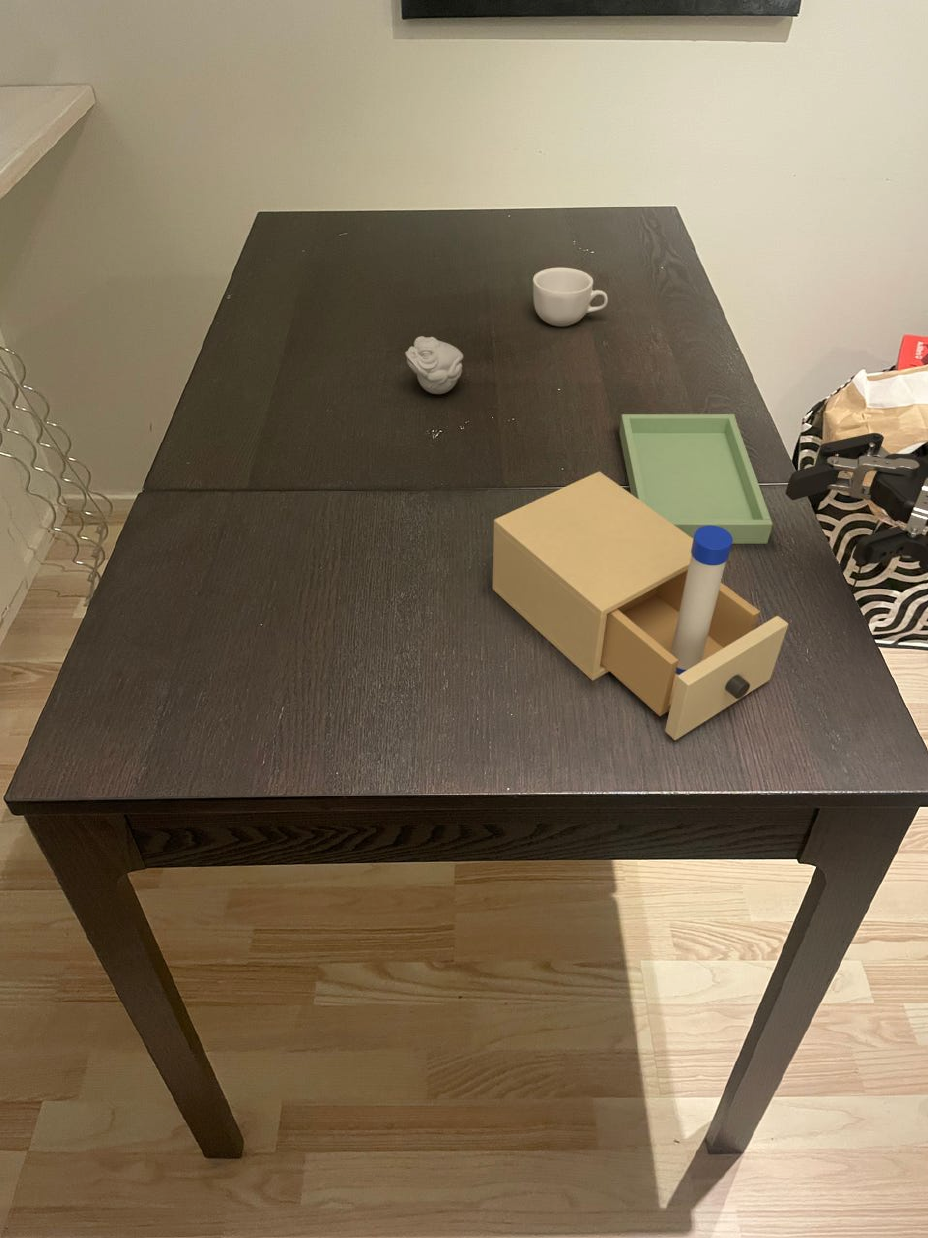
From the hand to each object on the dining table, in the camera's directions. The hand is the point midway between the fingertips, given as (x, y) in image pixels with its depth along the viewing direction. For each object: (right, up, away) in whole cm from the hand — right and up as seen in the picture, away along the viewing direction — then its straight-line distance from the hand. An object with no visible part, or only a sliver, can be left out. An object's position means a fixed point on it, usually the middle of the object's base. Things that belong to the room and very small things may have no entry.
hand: (822, 519), depth 75 cm
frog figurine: (-31, +20, +41) cm, 55 cm away
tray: (-4, +7, +27) cm, 28 cm away
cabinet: (-16, -6, +14) cm, 22 cm away
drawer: (-10, -12, +7) cm, 17 cm away
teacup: (-14, +32, +54) cm, 64 cm away
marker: (-9, -12, +6) cm, 16 cm away
